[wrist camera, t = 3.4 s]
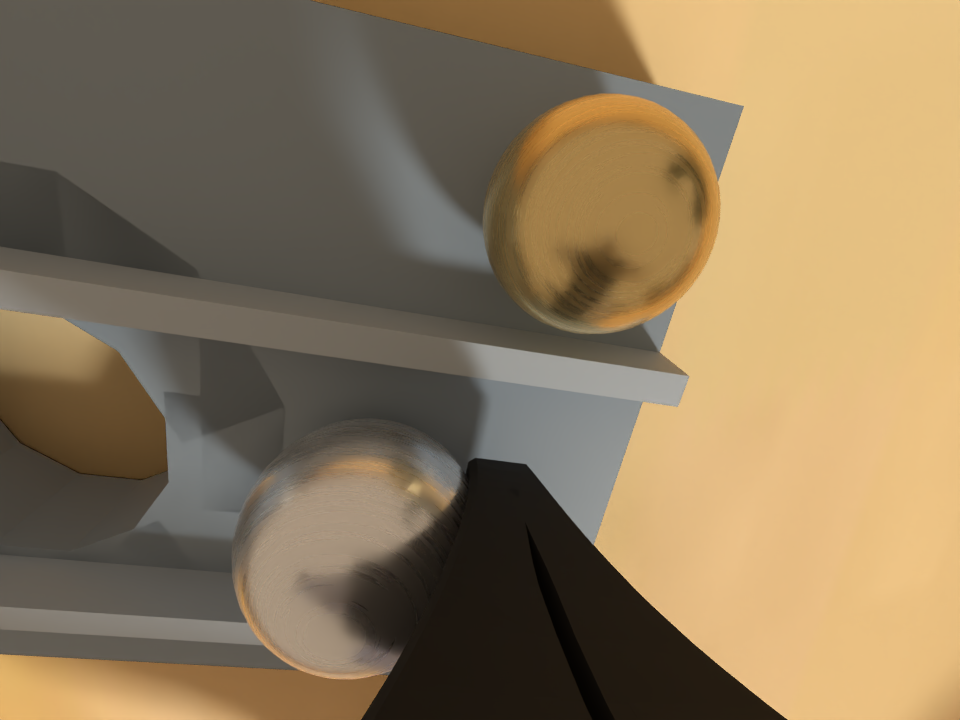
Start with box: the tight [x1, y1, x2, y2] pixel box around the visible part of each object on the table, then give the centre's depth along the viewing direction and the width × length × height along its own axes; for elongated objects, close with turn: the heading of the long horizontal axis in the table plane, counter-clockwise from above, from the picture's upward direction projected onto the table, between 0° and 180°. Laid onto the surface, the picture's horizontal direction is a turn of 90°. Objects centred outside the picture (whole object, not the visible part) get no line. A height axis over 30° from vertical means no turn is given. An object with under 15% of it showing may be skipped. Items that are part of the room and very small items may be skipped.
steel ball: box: [231, 418, 469, 679], centre depth 8 cm, size 4×4×4 cm
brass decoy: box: [483, 93, 720, 334], centre depth 7 cm, size 3×3×3 cm
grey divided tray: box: [0, 0, 744, 675], centre depth 9 cm, size 17×14×4 cm
